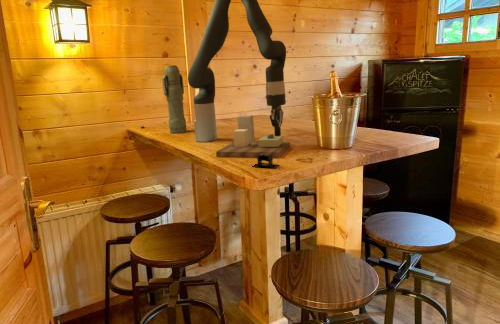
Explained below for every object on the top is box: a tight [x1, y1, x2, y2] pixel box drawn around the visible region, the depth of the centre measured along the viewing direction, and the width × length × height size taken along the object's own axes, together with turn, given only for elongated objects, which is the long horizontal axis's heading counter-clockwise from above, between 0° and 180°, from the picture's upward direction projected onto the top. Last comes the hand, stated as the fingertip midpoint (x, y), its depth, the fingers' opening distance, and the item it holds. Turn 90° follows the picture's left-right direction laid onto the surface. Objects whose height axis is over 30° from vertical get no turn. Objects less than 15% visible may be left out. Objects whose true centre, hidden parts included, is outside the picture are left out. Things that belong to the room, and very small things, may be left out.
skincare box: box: [236, 115, 256, 142], centre depth 167 cm, size 6×4×12 cm
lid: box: [257, 134, 284, 147], centre depth 149 cm, size 8×8×4 cm
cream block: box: [232, 128, 249, 147], centre depth 153 cm, size 4×4×8 cm
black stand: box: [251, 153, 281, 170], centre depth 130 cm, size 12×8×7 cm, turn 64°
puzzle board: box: [215, 141, 291, 159], centre depth 150 cm, size 24×18×2 cm
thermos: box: [161, 64, 187, 135], centre depth 206 cm, size 9×12×35 cm
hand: (277, 136), depth 158 cm, fingers closed
